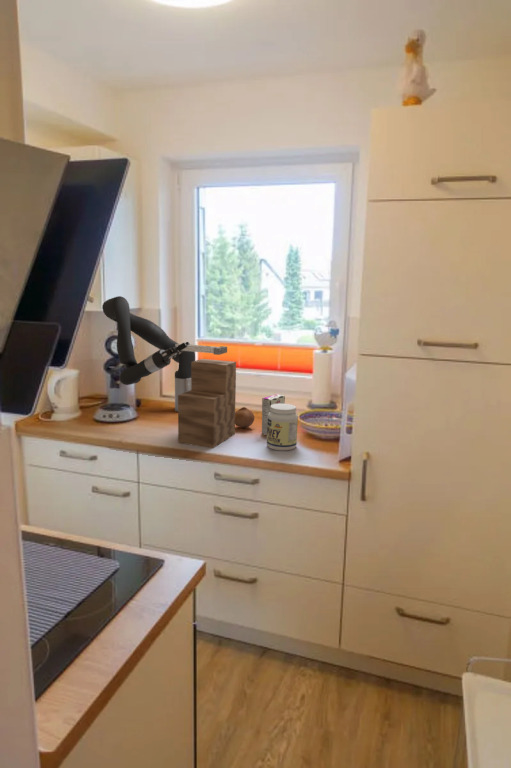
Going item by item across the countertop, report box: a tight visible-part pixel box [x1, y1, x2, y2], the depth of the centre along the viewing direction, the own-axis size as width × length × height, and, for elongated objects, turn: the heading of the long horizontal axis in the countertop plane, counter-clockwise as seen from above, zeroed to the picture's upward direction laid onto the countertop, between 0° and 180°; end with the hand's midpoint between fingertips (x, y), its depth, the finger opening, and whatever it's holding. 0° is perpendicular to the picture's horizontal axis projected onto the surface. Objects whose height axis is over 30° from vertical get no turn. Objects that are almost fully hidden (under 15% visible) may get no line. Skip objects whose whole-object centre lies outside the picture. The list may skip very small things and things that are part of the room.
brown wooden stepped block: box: [177, 358, 237, 449], centre depth 211 cm, size 21×16×32 cm
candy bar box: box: [261, 393, 286, 436], centre depth 224 cm, size 11×5×16 cm, turn 143°
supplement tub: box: [266, 403, 299, 452], centre depth 205 cm, size 12×12×17 cm
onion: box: [235, 406, 255, 429], centre depth 229 cm, size 10×9×10 cm
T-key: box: [175, 343, 228, 356], centre depth 215 cm, size 8×22×2 cm, turn 69°
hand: (187, 344), depth 217 cm, fingers closed on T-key, 2 cm apart
